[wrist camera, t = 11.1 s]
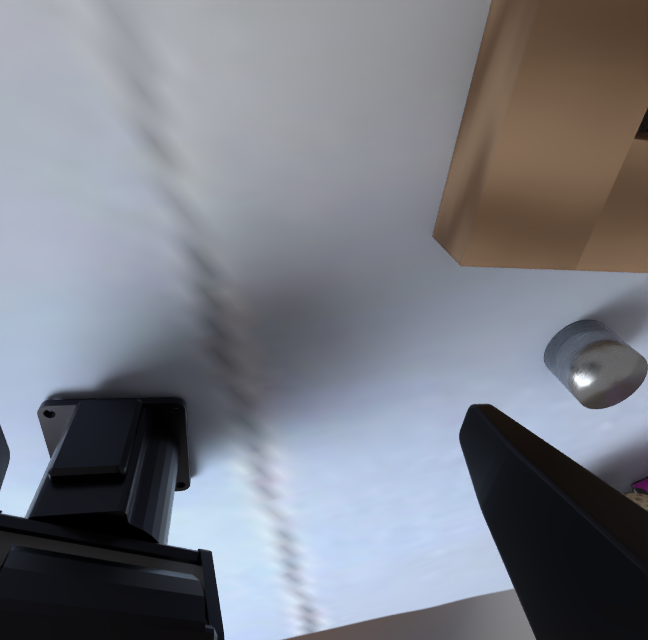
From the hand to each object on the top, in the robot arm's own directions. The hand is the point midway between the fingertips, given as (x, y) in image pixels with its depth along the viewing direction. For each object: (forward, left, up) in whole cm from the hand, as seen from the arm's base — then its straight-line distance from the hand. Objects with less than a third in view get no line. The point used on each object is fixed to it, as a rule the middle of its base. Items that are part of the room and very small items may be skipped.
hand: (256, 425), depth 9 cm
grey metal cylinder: (-6, -18, -11) cm, 22 cm away
